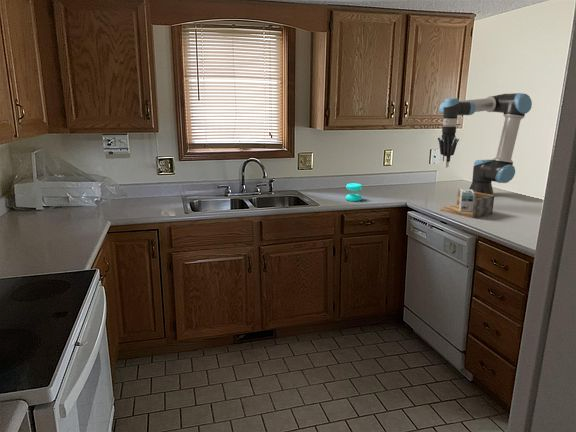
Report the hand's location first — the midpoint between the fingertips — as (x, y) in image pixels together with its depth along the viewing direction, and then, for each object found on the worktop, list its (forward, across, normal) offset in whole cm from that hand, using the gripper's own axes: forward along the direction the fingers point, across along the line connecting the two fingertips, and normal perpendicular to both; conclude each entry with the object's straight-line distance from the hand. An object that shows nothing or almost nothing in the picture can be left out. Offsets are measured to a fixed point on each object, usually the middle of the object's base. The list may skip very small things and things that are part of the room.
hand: (445, 167), depth 259 cm
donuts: (+23, -40, -35) cm, 58 cm away
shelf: (+22, +20, -6) cm, 30 cm away
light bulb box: (+21, +20, -6) cm, 30 cm away
